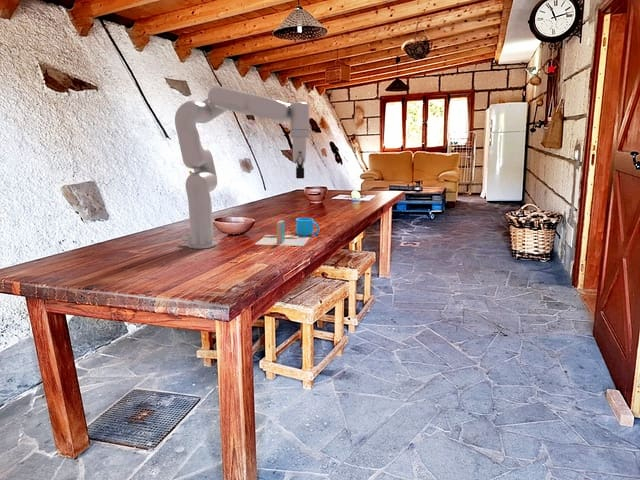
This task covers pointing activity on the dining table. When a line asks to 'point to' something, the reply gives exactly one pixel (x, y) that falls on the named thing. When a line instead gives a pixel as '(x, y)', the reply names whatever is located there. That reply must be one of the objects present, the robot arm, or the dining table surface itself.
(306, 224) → the mug
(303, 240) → the board
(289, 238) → the turner
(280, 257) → the dining table surface
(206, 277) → the dining table surface
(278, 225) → the tile
